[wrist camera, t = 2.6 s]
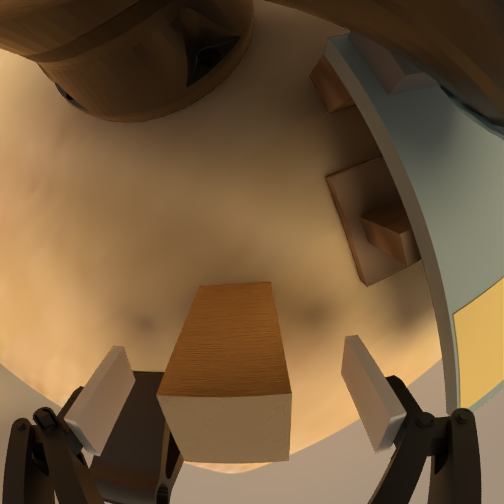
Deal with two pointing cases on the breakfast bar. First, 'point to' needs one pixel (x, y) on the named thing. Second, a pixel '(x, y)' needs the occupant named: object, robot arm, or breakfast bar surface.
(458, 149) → the beam
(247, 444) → the wooden block
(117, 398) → the robot arm
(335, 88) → the beam stand
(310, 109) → the breakfast bar surface
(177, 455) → the phone stand
